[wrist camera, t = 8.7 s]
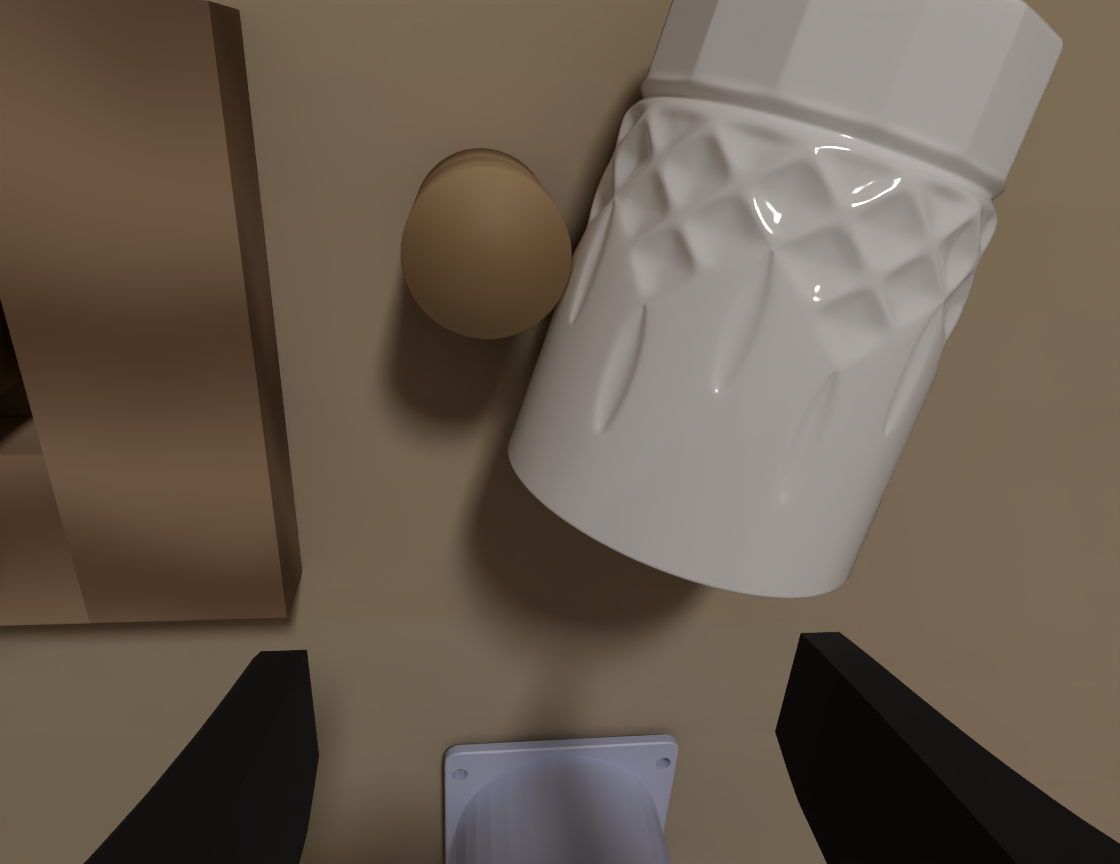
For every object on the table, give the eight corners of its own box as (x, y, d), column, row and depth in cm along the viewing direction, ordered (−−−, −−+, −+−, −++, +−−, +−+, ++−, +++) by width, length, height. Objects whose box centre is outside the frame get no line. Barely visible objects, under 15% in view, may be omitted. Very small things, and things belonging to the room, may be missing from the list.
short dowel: (546, 288, 18) (566, 340, 15) (416, 285, 18) (404, 338, 14) (553, 151, 17) (576, 171, 13) (411, 145, 16) (396, 164, 13)
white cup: (681, 16, 18) (561, 397, 21) (615, -142, 10) (447, 486, 13) (1018, 107, 16) (834, 500, 19) (1222, -1, 9) (872, 659, 12)
